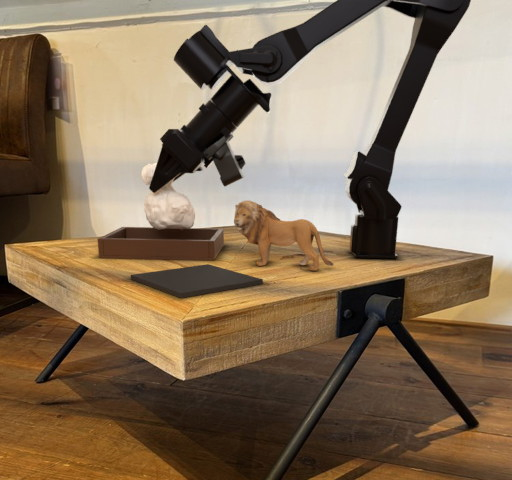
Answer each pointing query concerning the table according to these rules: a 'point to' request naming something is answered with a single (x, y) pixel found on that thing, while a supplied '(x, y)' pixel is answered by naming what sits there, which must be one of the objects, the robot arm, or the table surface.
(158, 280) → the charcoal mat
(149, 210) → the bust
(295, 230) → the lion figurine
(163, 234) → the walnut tray
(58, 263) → the table surface
